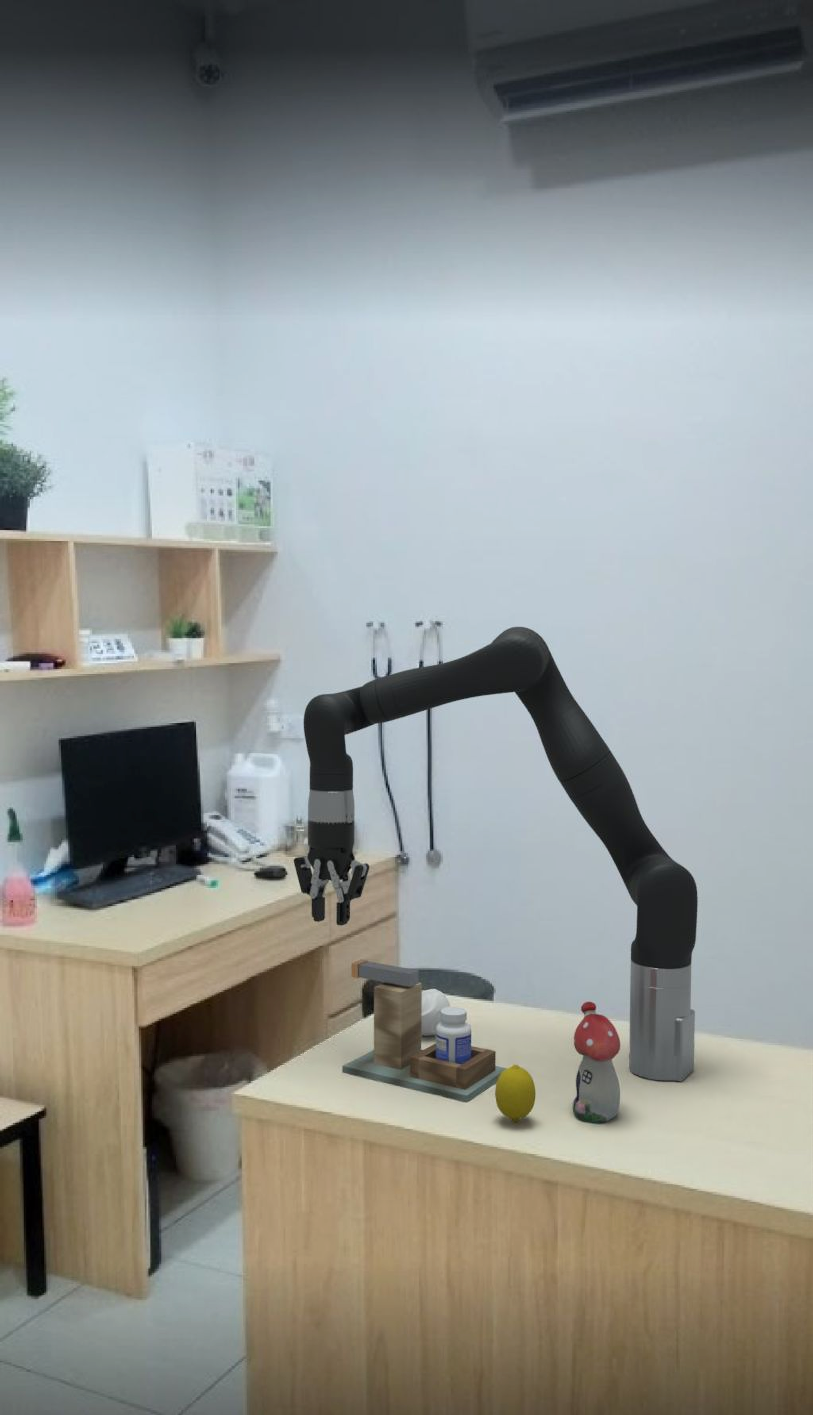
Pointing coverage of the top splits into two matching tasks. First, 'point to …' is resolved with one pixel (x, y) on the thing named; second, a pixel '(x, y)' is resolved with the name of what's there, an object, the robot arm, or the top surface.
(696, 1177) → the top surface
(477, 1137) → the top surface
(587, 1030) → the decorative ornament
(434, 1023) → the white rounded piece
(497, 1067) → the socket board
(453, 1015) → the pill bottle
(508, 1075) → the lemon
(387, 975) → the bar
